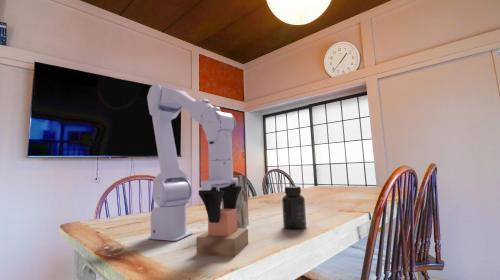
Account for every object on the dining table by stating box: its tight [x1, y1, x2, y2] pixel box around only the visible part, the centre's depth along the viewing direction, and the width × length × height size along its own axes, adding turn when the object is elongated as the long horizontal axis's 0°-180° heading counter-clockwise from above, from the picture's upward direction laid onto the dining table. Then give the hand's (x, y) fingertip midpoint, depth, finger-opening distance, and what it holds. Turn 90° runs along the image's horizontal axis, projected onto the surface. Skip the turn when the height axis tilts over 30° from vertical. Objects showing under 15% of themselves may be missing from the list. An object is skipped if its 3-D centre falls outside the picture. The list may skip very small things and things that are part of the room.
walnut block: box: [196, 228, 249, 258], centre depth 58 cm, size 9×9×4 cm
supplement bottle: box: [281, 185, 307, 231], centre depth 75 cm, size 7×7×12 cm
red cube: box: [207, 208, 237, 236], centre depth 58 cm, size 5×5×5 cm
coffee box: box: [221, 174, 250, 229], centre depth 79 cm, size 9×6×16 cm
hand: (222, 218), depth 58 cm, fingers open, 7 cm apart
